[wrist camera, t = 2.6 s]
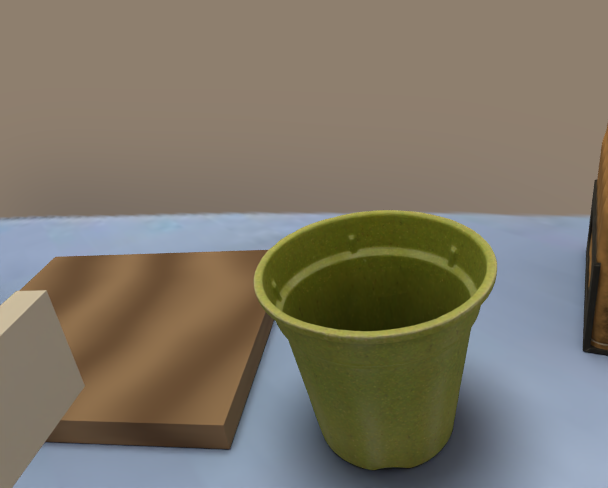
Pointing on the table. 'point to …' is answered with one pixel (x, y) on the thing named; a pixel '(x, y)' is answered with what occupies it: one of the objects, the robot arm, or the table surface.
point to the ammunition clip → (597, 264)
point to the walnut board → (158, 345)
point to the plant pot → (379, 326)
